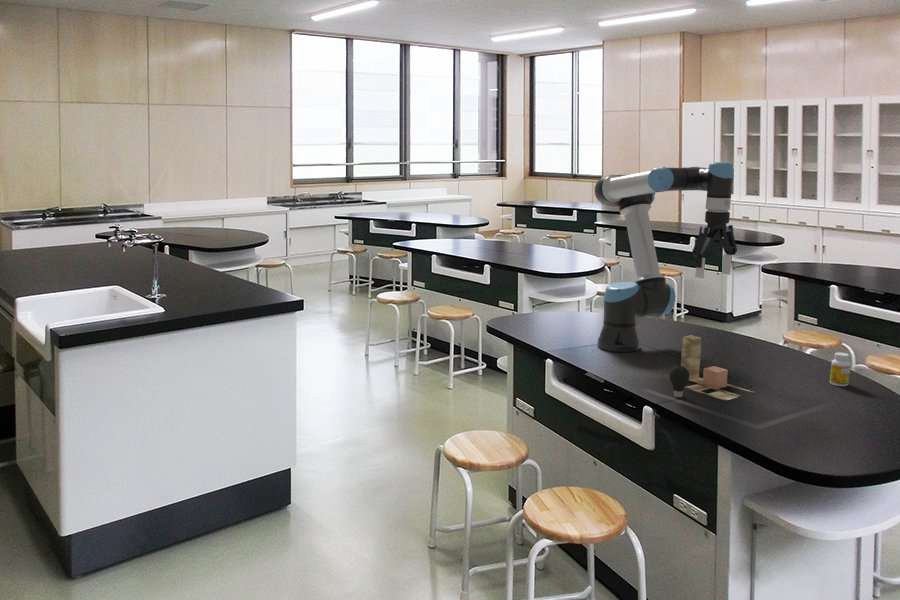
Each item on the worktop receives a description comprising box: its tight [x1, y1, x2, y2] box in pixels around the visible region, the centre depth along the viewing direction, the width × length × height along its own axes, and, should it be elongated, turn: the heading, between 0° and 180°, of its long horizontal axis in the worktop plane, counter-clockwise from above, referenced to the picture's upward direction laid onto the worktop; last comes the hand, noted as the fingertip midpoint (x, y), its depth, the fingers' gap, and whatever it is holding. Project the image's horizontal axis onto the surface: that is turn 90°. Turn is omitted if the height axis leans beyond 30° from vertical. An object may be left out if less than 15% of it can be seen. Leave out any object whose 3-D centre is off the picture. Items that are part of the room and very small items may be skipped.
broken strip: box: [686, 383, 738, 401], centre depth 244 cm, size 15×5×1 cm, turn 35°
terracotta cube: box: [702, 365, 729, 389], centre depth 250 cm, size 5×5×5 cm
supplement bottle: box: [829, 352, 851, 387], centre depth 256 cm, size 5×5×10 cm
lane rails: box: [684, 383, 755, 402], centre depth 246 cm, size 15×14×1 cm
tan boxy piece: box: [680, 334, 728, 389], centre depth 253 cm, size 15×5×14 cm, turn 35°
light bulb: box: [669, 365, 690, 400], centre depth 239 cm, size 6×6×10 cm
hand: (712, 275), depth 269 cm, fingers open, 13 cm apart
